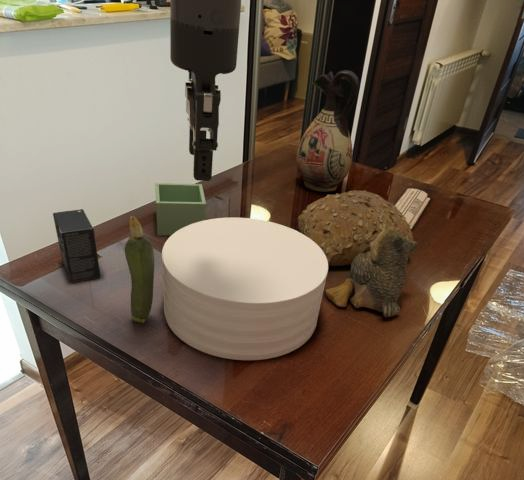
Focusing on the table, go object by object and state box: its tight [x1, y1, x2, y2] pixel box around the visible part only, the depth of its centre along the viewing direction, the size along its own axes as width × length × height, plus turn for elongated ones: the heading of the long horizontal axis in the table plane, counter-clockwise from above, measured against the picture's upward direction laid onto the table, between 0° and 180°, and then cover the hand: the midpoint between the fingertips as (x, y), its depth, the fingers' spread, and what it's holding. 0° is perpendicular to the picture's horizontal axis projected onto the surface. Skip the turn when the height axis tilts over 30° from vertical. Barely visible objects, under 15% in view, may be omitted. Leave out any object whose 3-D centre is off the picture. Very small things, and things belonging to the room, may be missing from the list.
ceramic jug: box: [295, 69, 360, 193], centre depth 128 cm, size 17×15×30 cm
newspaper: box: [394, 187, 431, 230], centre depth 131 cm, size 24×7×2 cm, turn 153°
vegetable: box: [124, 215, 155, 324], centre depth 77 cm, size 4×4×20 cm
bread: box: [297, 189, 414, 267], centre depth 108 cm, size 24×21×12 cm
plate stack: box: [161, 217, 329, 361], centre depth 85 cm, size 28×28×12 cm
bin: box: [154, 182, 207, 237], centre depth 109 cm, size 11×11×8 cm
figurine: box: [325, 229, 419, 318], centre depth 91 cm, size 14×15×15 cm
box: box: [52, 208, 101, 283], centre depth 90 cm, size 8×6×11 cm
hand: (199, 166), depth 63 cm, fingers open, 8 cm apart
